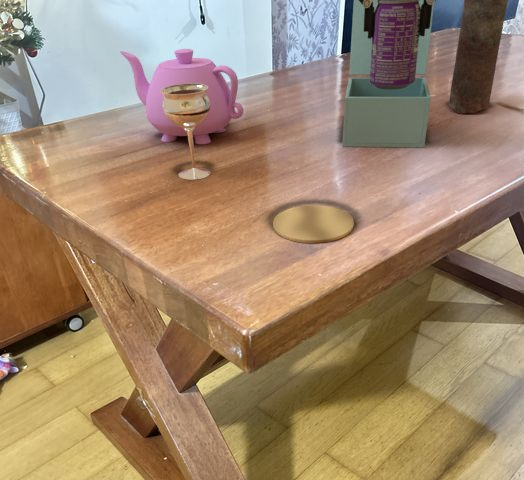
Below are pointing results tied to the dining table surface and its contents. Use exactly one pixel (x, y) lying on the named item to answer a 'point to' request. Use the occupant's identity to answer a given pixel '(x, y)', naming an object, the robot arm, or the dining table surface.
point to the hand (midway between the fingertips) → (395, 35)
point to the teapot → (183, 73)
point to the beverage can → (395, 43)
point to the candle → (477, 54)
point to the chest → (385, 114)
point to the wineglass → (187, 116)
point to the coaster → (313, 224)
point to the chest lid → (363, 44)
